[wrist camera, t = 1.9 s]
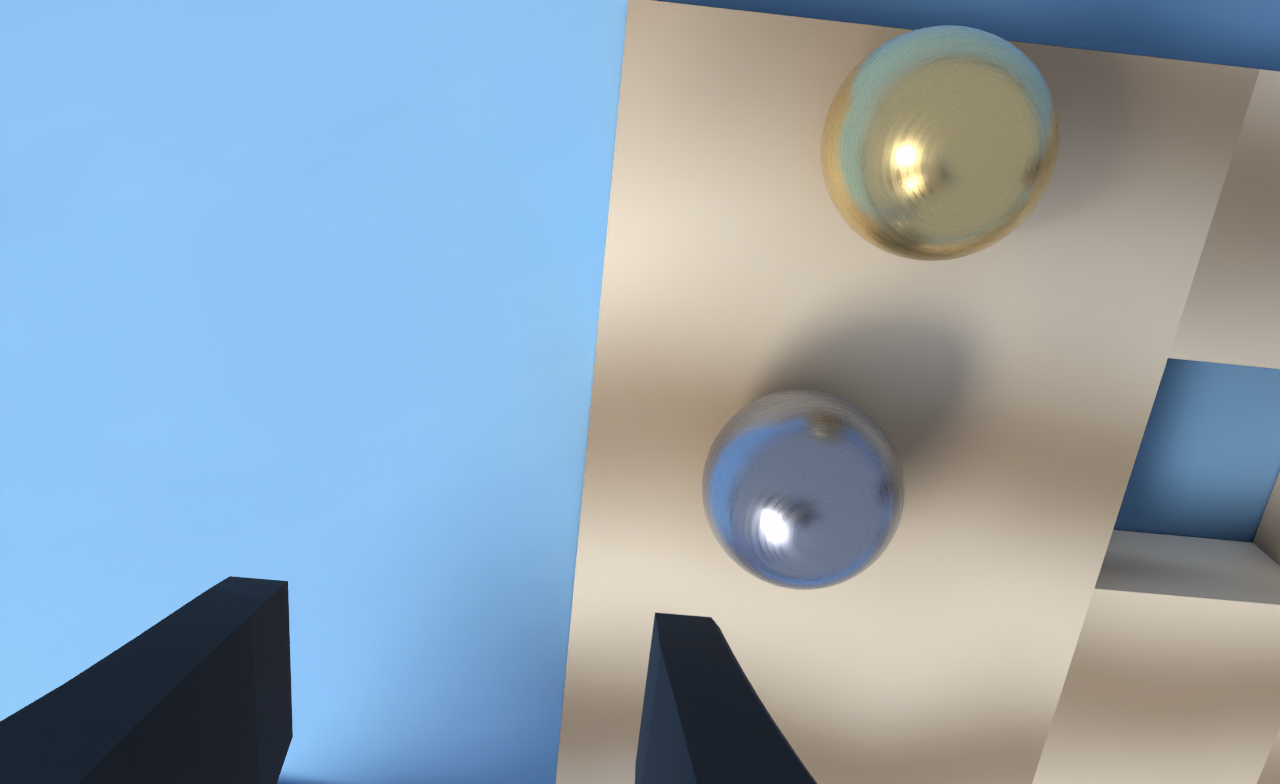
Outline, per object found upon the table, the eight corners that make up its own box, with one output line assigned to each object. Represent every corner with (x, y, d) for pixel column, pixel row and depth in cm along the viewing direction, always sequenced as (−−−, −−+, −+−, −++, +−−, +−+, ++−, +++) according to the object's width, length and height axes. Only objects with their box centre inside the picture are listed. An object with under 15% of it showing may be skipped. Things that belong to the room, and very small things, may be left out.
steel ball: (859, 534, 18) (905, 639, 15) (685, 518, 18) (696, 621, 15) (894, 370, 17) (951, 449, 14) (708, 352, 16) (725, 428, 14)
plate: (1282, 763, 23) (1356, 847, 21) (563, 705, 22) (555, 787, 20) (1567, 106, 18) (1711, 119, 15) (628, -1, 17) (628, -3, 14)
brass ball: (982, 244, 16) (1064, 298, 13) (788, 223, 16) (825, 274, 13) (1031, 35, 15) (1134, 41, 12) (822, 12, 15) (871, 12, 12)
